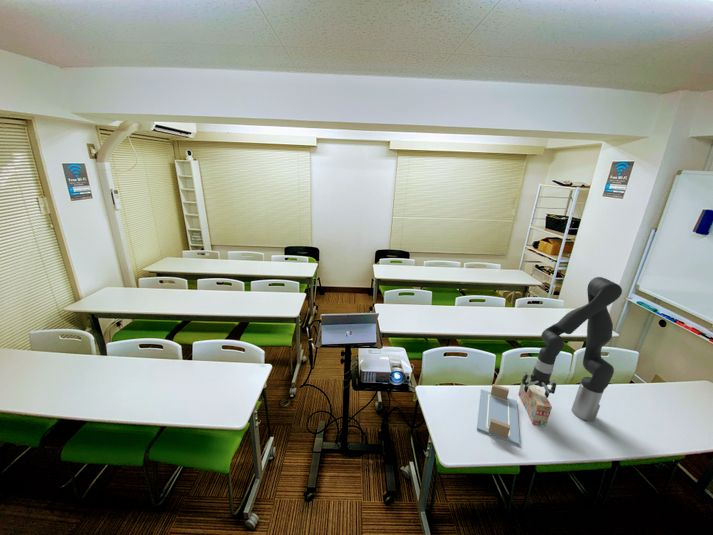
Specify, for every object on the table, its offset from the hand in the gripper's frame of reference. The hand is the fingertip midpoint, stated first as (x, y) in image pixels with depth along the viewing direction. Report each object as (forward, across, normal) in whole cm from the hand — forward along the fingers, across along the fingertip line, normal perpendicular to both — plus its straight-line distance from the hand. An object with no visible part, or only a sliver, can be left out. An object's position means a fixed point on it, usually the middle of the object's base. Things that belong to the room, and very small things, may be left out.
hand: (535, 394), depth 149 cm
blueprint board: (+10, +16, +13) cm, 22 cm away
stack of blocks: (+10, 0, -1) cm, 10 cm away
